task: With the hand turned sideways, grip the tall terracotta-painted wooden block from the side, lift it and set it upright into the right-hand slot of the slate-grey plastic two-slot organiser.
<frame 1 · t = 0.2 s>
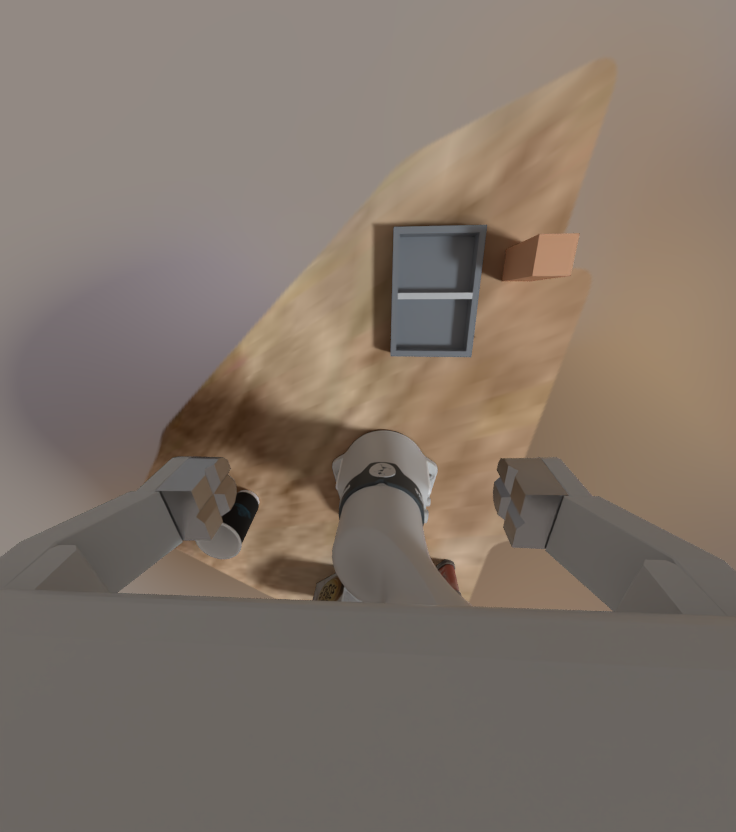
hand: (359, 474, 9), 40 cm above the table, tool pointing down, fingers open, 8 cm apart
organiser: (432, 296, 44), on the table
dixie cup: (248, 499, 60), on the table
coffee box: (341, 582, 66), on the table
lighter: (439, 572, 63), on the table
block: (519, 265, 41), on the table
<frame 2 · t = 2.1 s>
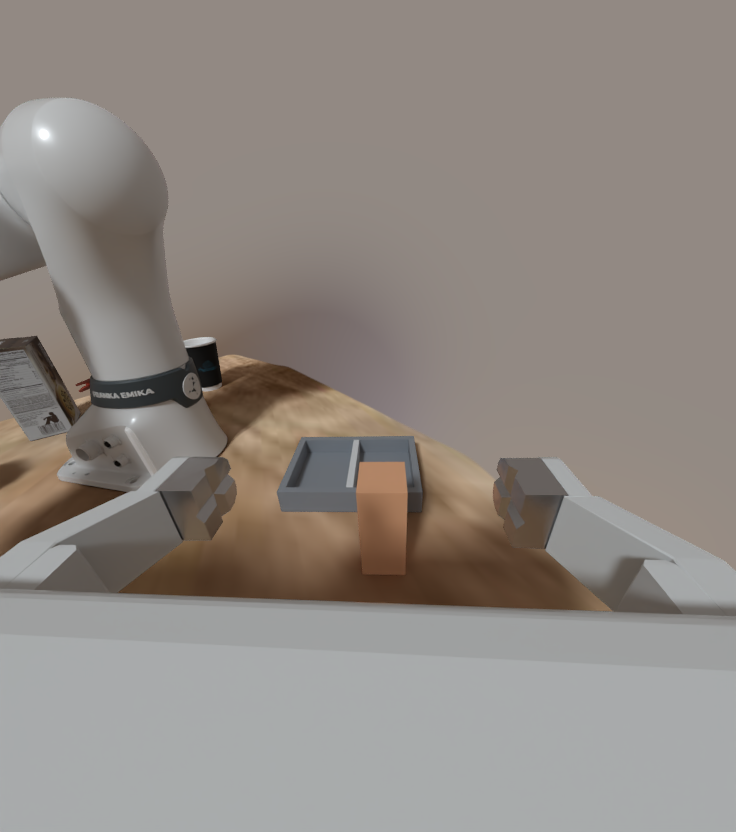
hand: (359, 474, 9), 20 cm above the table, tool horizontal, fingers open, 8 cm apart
organiser: (354, 479, 40), on the table
dixie cup: (211, 388, 72), on the table
coffee box: (57, 427, 58), on the table
block: (383, 555, 30), on the table
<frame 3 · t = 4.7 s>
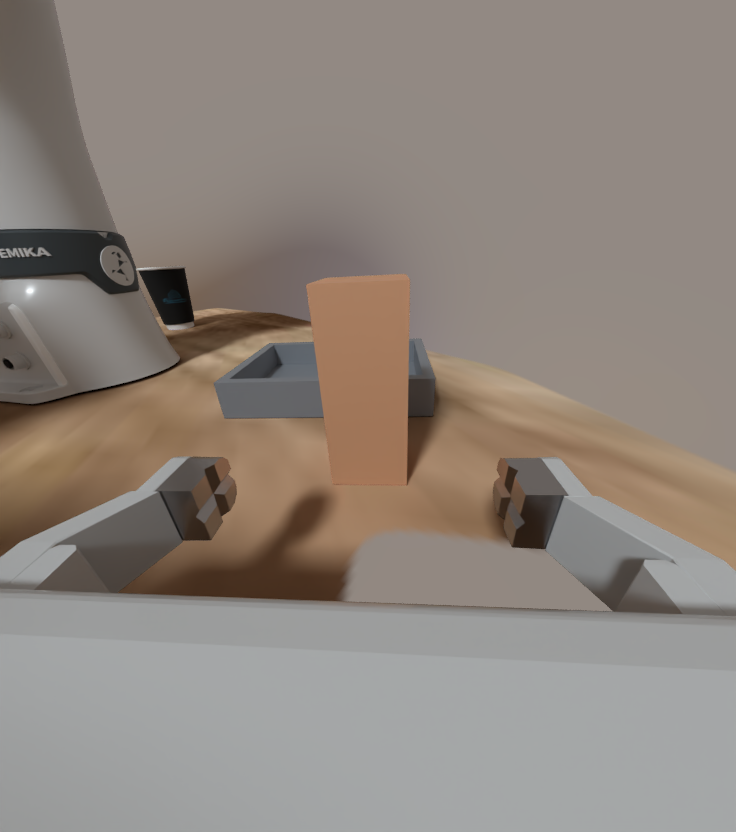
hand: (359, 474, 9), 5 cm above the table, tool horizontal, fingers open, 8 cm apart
organiser: (337, 388, 28), on the table
dixie cup: (181, 328, 61), on the table
block: (371, 462, 18), on the table
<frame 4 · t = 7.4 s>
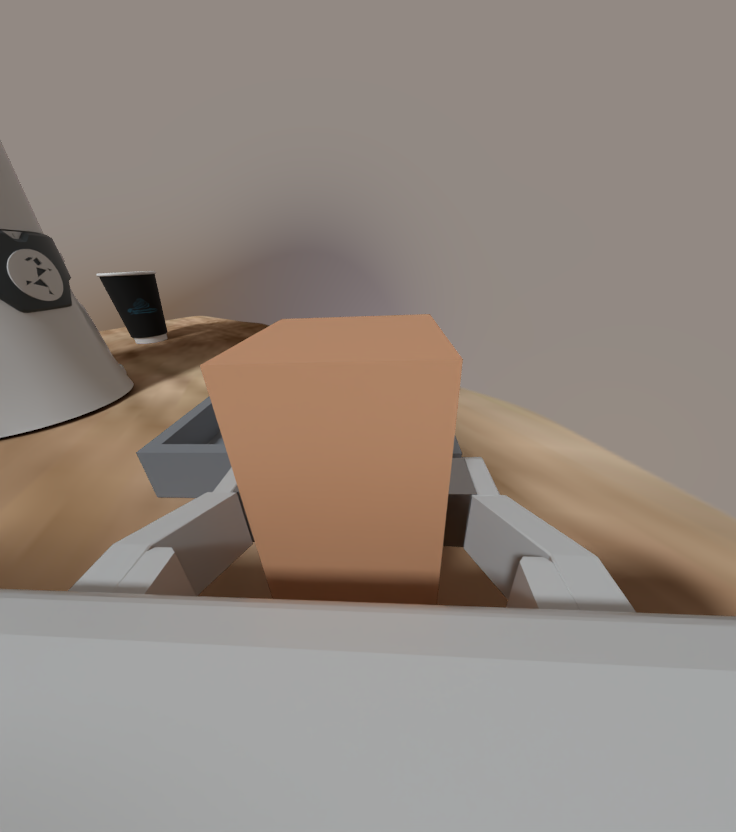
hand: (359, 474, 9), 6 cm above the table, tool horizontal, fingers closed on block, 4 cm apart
organiser: (322, 441, 21), on the table
dixie cup: (152, 341, 54), on the table
block: (366, 612, 11), on the table, touching gripper
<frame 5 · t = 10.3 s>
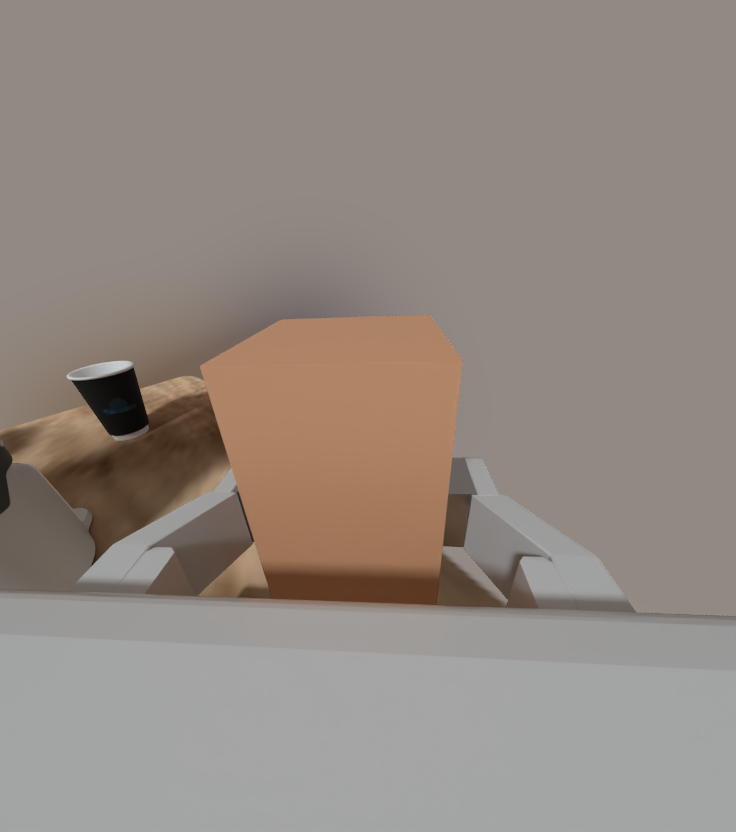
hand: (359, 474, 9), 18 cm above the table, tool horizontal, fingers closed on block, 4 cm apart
dixie cup: (132, 433, 49), on the table
block: (365, 612, 11), point 12 cm above the table, touching gripper
when the fingers open (8 cm above the table, at t = 13.3 s): block drops 1 cm, resting on organiser.
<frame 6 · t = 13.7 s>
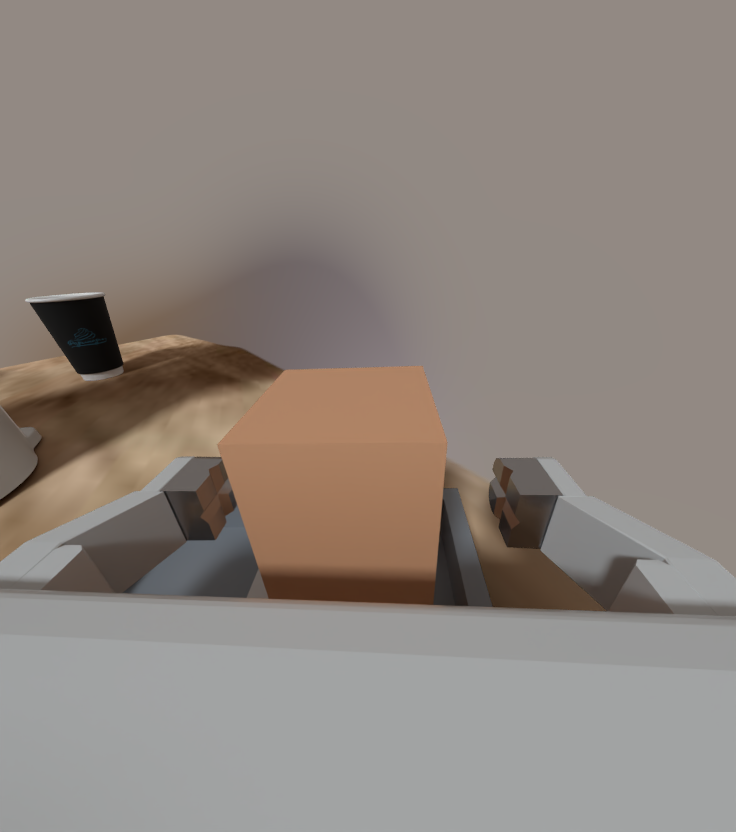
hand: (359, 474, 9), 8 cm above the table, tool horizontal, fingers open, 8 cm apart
organiser: (273, 640, 12), on the table
dixie cup: (104, 376, 45), on the table
block: (366, 634, 12), point 1 cm above the table, touching organiser
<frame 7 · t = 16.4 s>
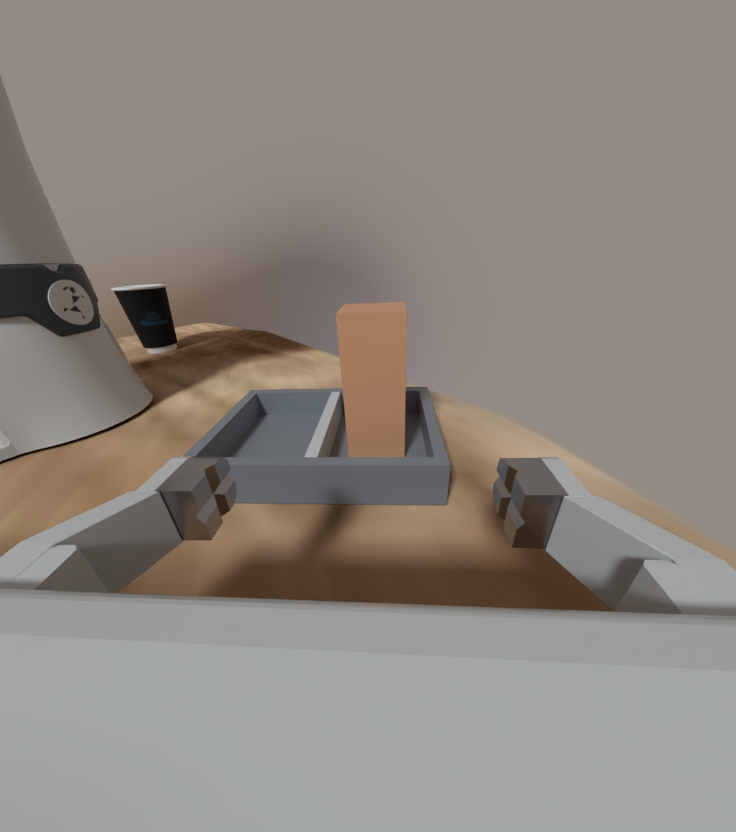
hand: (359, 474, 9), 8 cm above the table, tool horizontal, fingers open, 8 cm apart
organiser: (329, 451, 24), on the table
dixie cup: (163, 350, 56), on the table
block: (377, 442, 23), point 1 cm above the table, touching organiser
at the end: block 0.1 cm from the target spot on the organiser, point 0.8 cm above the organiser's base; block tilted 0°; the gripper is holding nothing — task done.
